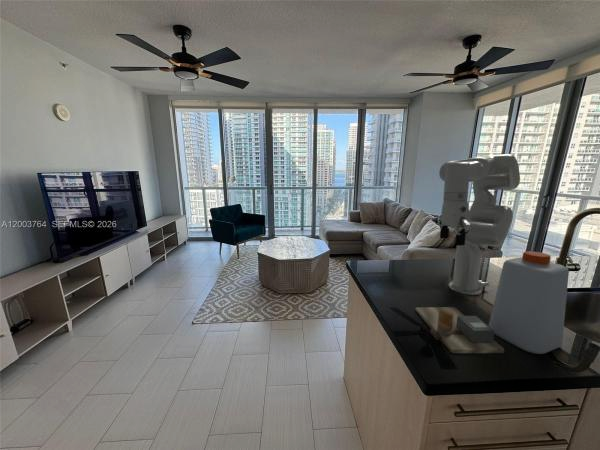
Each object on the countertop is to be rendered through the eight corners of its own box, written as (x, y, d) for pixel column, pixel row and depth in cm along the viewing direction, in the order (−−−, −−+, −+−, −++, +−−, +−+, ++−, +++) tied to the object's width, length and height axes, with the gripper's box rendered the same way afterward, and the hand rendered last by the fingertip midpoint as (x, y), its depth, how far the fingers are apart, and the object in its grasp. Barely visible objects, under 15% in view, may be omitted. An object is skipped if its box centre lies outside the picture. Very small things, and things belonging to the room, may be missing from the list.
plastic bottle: (567, 346, 75) (586, 257, 69) (537, 359, 69) (554, 265, 64) (510, 320, 89) (522, 244, 83) (482, 329, 83) (492, 250, 78)
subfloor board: (458, 309, 96) (458, 306, 96) (509, 352, 72) (509, 348, 72) (411, 310, 96) (411, 307, 96) (447, 353, 72) (447, 349, 72)
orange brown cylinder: (446, 328, 82) (448, 309, 81) (454, 336, 78) (456, 316, 77) (434, 328, 82) (436, 309, 81) (441, 336, 78) (443, 316, 77)
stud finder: (474, 326, 83) (475, 315, 82) (492, 342, 75) (494, 329, 74) (456, 326, 83) (457, 315, 82) (472, 342, 75) (474, 329, 74)
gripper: (482, 198, 82) (477, 247, 86) (451, 194, 99) (447, 235, 103) (460, 200, 82) (455, 248, 86) (432, 195, 99) (429, 236, 103)
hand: (451, 241), depth 94 cm, fingers open, 9 cm apart
